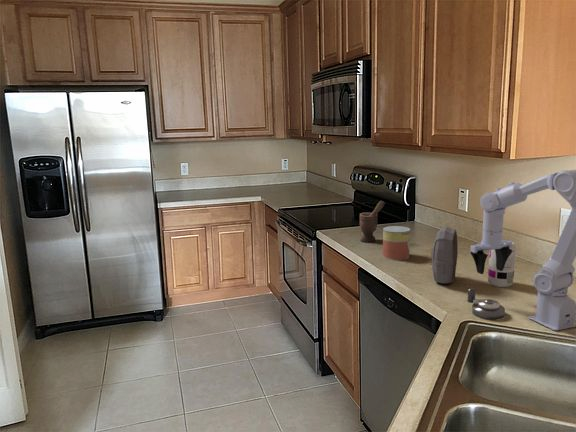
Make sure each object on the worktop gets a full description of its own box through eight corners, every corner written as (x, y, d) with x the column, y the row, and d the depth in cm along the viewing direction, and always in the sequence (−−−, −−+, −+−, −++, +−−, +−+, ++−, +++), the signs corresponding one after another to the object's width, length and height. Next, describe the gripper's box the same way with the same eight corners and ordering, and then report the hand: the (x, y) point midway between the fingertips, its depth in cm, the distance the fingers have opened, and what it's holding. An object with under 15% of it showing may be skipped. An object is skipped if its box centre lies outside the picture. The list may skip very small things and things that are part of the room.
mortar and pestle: (382, 238, 232) (383, 198, 228) (384, 243, 224) (385, 201, 220) (359, 238, 233) (359, 198, 229) (360, 243, 225) (360, 201, 221)
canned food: (410, 260, 196) (410, 232, 194) (382, 259, 198) (382, 231, 196) (409, 252, 207) (409, 226, 205) (382, 252, 209) (383, 225, 207)
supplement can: (483, 284, 167) (486, 243, 164) (493, 278, 172) (496, 238, 169) (507, 289, 161) (510, 247, 158) (516, 283, 167) (519, 242, 163)
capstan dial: (503, 306, 141) (504, 293, 140) (493, 312, 137) (494, 299, 137) (472, 297, 148) (473, 285, 148) (462, 303, 145) (463, 290, 144)
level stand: (511, 316, 139) (511, 310, 139) (486, 321, 136) (486, 315, 136) (489, 306, 148) (489, 299, 147) (465, 310, 145) (465, 303, 144)
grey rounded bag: (451, 288, 163) (453, 232, 159) (426, 285, 167) (428, 230, 163) (457, 275, 176) (459, 223, 172) (434, 272, 180) (436, 221, 176)
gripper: (501, 225, 154) (499, 265, 157) (464, 229, 150) (462, 270, 152) (518, 229, 148) (515, 271, 150) (480, 234, 143) (478, 277, 146)
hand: (489, 271), depth 151 cm, fingers open, 7 cm apart
